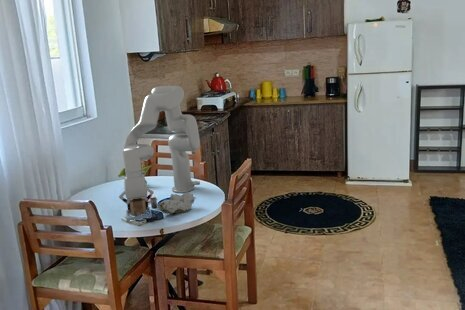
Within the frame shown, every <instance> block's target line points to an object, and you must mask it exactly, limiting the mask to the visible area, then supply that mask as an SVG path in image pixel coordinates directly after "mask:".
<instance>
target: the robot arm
mask: <svg viewBox="0 0 465 310" xmlns="http://www.w3.org/2000/svg"><path fill="white" fill-rule="evenodd" d="M184 97H185V92H184V89H183V88H182V87H181V86H179V85H165V86H164V85H160V86H155V87H153V88H152V90H151V94H148V95H146V97H145V98H144V100H143V104H142V108H141V113H140V116H139V121H138V122H137V124H136V125H135V126H133V128H132V129H131V130H130V132H129V133H128V134H127V136H126V138H125V142H124V143H125V144H124V149H123V151H122V156H123V163H124V168H125V173H126V177H125V176H124V180H123V181H124V182H123V183H124V190H123V192H121V194H119V196H118V198H119V199H120V200H121V201H122V202H124V203H125V204H126V206H127V210H129V211H130V212H131V208H130V199H132V198H139V197H143V198H144V199H145V205H146V210H147V207H149V200H150V198H152V196H153V195H154V191H153V190H152V189H151V188H148V186H147V184H146V181H147V180H146V177H144V175H142V174H143V173H145V170H142V168H143V167H142V162H143V161H147V160H151V158H152V157H153V156H154V154H155V150H154V148H153V146H152V145H150V144H146V143H138V140H139V139H140V138H141V137H142V136H143V135H145V134H147V133H149V132H151V131H152V130H154V129H155V128H156V127H157V125H158V120H159V116H160V112H164V113H165V118H166V119H165V120H166V125H167V128H168V130H169V131H170V132H171V133H173V134H171V135H170V136H169V137H168V141H167V145H168V148H169V151H170V156H171V164H172V172H173V173H172V174H173V182H174V184H173V185H174V186H173V187H172V188H171V191H172V192H174V193H177V194H178V193H190V192H191V191H193V190H195V186H198V185H201V182H200V181H199V180H198V181H197V180H194V181H193V180H192V176H191V174H192V173H191V163H190V156H189V155H188V153H187V152H196V151H198V150H199V149H200V145H201V140H200V134H199V129H198V128H199V127H198V122H197V120H196V118H195V116H194V115H192V114H183V113H182V110H181V109H182V108H181V106H180V103H182V102H183V100H184ZM145 180H146V181H145ZM148 193H149V194H148ZM124 196H125V197H124Z"/></svg>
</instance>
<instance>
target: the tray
mask: <svg viewBox="0 0 465 310" xmlns="http://www.w3.org/2000/svg"><path fill="white" fill-rule="evenodd" d="M147 210H149V211H150V214H149V215H142V216H135V217H128V216H130V215H131V212H130V211H129V210H128V209H126V210H125V216H126V217H125V218H126V223H130V222H129V221H130V220H134V219H141V218H145V217H148V216H152V215H153V214H152V208H151V206H148V207H147ZM152 217H153V216H152Z"/></svg>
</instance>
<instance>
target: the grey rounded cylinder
mask: <svg viewBox="0 0 465 310" xmlns="http://www.w3.org/2000/svg"><path fill="white" fill-rule="evenodd" d="M149 200H150V204H151V205H150V208H151V209H157V208H158V206H157V205H158V204H157V203H158V201H157V198H156V197H155V196H154V197H151V198H150V199H149Z"/></svg>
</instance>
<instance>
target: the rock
mask: <svg viewBox="0 0 465 310" xmlns="http://www.w3.org/2000/svg"><path fill="white" fill-rule="evenodd" d="M194 202H195V196H194V195H193V193H191V192H183V194H181V195H180V194H178V193H177V194H176V193H175V194H174V193H171V194H170V196H169V200H167V199H164V200H163V201H162V202H159V203H158V204H157V208H158V210H159V211H160V212H162V214H165V215H166V214H167V215H170V216H171V215H172V214H179V213H181V214H185V213H186V212H188V211H190V209H191V210H192V208H193V206H192V204H193V203H194Z"/></svg>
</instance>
